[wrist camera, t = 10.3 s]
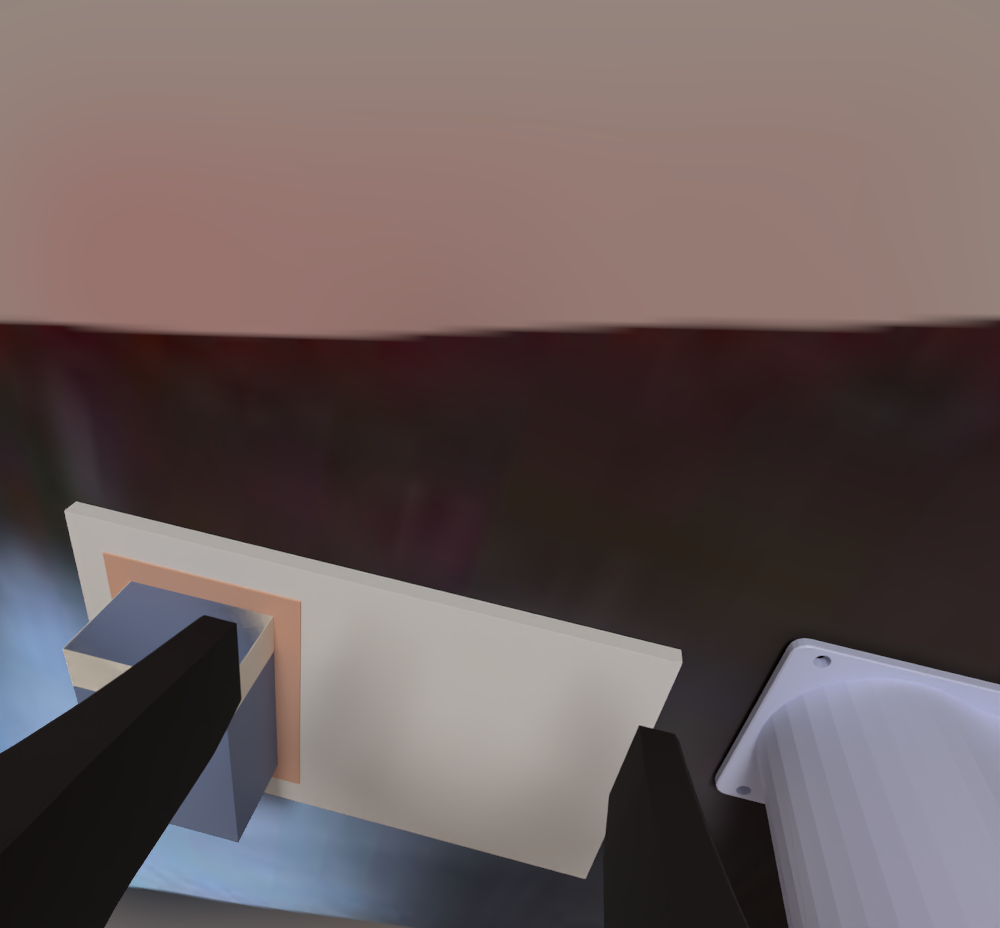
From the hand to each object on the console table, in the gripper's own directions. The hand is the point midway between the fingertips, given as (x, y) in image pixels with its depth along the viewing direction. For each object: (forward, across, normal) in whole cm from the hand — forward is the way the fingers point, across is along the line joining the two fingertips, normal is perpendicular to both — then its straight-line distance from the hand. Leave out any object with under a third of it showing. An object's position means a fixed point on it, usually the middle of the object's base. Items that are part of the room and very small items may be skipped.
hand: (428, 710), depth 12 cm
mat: (+9, +4, +13) cm, 17 cm away
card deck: (+9, +10, +13) cm, 19 cm away
